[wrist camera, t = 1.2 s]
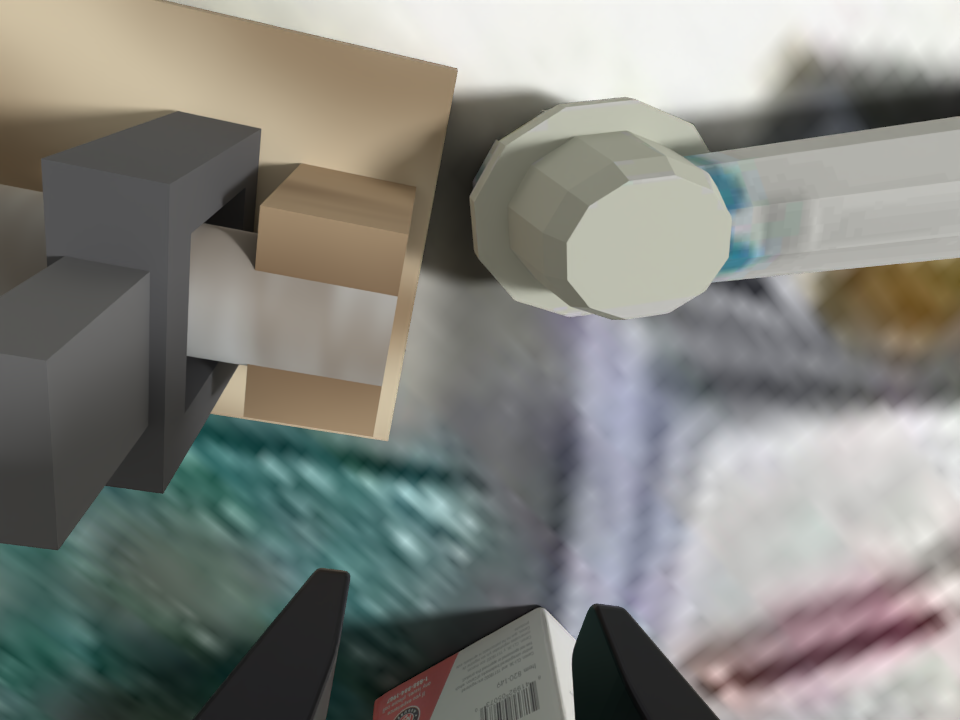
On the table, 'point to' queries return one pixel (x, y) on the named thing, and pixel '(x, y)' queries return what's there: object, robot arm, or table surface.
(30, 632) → the table surface
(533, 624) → the ink cartridge box
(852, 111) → the table surface
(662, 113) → the grey piece
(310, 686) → the robot arm
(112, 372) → the collar
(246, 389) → the pipe stand
